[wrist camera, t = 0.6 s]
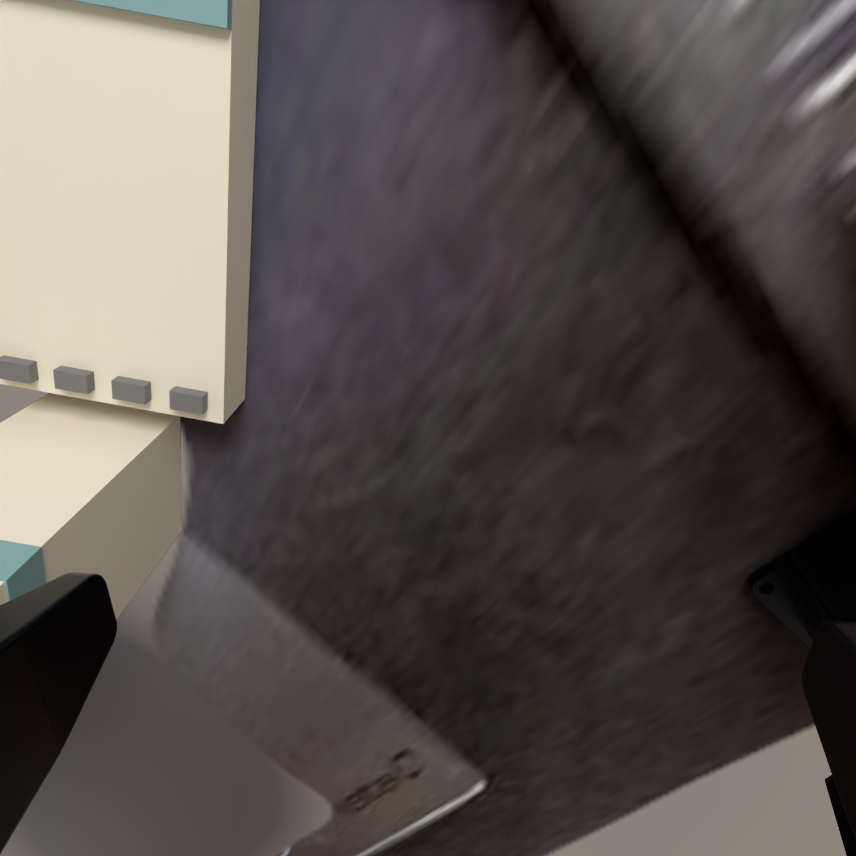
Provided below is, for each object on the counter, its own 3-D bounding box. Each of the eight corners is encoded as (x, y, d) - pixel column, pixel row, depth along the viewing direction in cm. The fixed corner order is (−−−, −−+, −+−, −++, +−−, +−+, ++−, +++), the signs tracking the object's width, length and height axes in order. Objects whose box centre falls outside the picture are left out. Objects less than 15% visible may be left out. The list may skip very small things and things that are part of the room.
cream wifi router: (268, -240, 14) (231, -307, 12) (245, 399, 21) (218, 429, 19) (-125, -314, 14) (-235, -395, 12) (-18, 351, 21) (-75, 377, 19)
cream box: (181, 413, 21) (-71, 653, 12) (183, 532, 24) (-28, 819, 14) (50, 389, 21) (-316, 610, 11) (64, 511, 24) (-233, 784, 14)
